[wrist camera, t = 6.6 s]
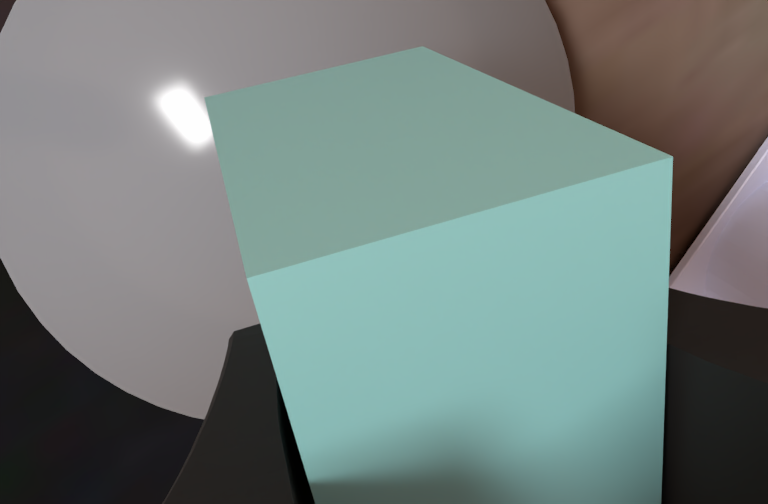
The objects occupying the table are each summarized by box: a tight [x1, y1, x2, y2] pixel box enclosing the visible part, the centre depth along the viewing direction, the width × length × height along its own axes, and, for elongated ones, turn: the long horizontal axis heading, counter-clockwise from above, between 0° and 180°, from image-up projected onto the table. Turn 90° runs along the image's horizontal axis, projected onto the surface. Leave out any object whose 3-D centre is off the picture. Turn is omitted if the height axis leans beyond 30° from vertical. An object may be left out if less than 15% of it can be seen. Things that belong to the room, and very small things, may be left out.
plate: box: [0, 0, 575, 419], centre depth 19 cm, size 16×16×1 cm
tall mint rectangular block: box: [204, 46, 673, 504], centre depth 11 cm, size 8×4×7 cm, turn 10°
